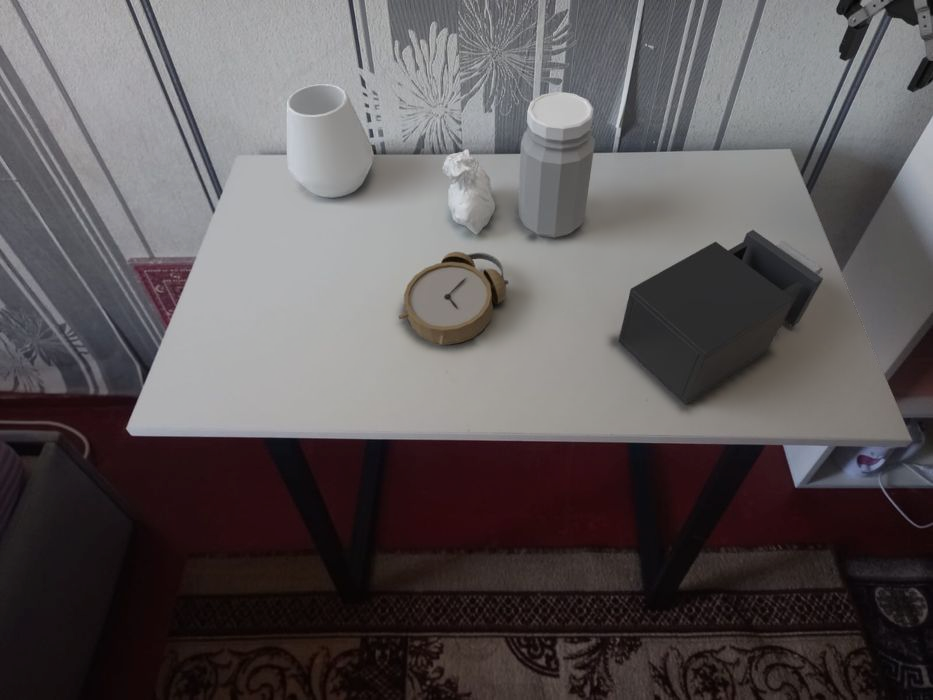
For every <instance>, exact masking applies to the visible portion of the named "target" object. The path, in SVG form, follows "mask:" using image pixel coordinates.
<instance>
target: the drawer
mask: <svg viewBox="0 0 933 700" xmlns="http://www.w3.org/2000/svg"><path fill="white" fill-rule="evenodd" d="M727 250H728V251H729V252H731V253H732V254H733V255H735V256H736V257H737V258H739V259H740V260H741V261H743V262H744V263H746V264H747V265H748V266H750V267H751V268H752V269H754V270H755V271H756V272H758V273H759V274H760V275H762V276H763V277H765V278H766V279H767V280H769V281H770V282H771V283H773V284H774V285H775V286H777V287H778V288H779V289H781V290H782V291H784V292H785V293H786V294H788V295H789V296H790V297H792V298H793V299H794V300H793V302H792V304H791V306H790V308H789V310H788V312H787V313H786V315H785V317H784V319H783V321H782V323H781V325H780V327H779V328H781V327H782V326H783V325H784V322H786V323H787V324H788V325H790V326H791V327H794V326H796V325H797V324H798V323H800V321H801V319H802V317H803V316H804V314H805V313H806V311H807V309H808V306H809V305H810V303H811V302H812V299H813V298H814V296H815V294H816V292H817V290H818V289H819V287H820V286H821V283H822V282H823V280H824V278H823V277H822V276H820V274H821V273H822V271H823V267H822V266H821V265H820V264H819V263H816V262H815V261H814V260H812V259H811V258H809V257H808V256H806V255H805V254H803V253H801V252H800V251H799V250H797V249H796V248H794V247H793V246H792V245H790V244H789V243H787V242H786V241H784V240H780V241H779V242H777V244H774V243H773V242H771V241H770V240H769V239H767V238H766V237H764V236H763V235H761V234H760V233H758V232H757V231H755V230H754V229H752V230H750V231H748V232H746V234H745V236H744V239H743V241H742V242H740V243H739V244H737V245H735V246H733V247H731V248H730V249H727Z"/></svg>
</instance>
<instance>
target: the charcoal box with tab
mask: <svg viewBox="0 0 933 700" xmlns="http://www.w3.org/2000/svg"><path fill="white" fill-rule="evenodd" d="M728 250H729V249H727V248H725V247H724V246H723V245H721V244H720V243H719V242H717V241H714V242H712V243H710V244H709V245H707V246H704V247H703V248H701V249H699V250H697V251H696V252H694V253H693V254H692V253H691V255H689V256H687V257H685V258H683V259H681V260H679V261H678V262H676V263H674V264H673V265H671V266H669V267H667V268H665V269H663V270H662V271H660V272H657V273H656V274H654V275H653V276H651V277H649V278H647V279H645V280H644V281H642V282H640V283H638V284H636V285H634V286H633V287H631V288H630V290H629V295H628V299H627V303H626V308H625V312H624V316H623V321H622V325H621V328H620V332H619V337H618V343H619V344H620V345H621V346H622V347H624V348H625V349H626V350H627V351H628V352H629V354H631V355H632V356H633V357H634V358H635V359H636V360H637V361H638V362H639V363H641V365H643V366H644V368H646V369H647V370H648V371H649V372H650V373H651V374H652V375H653V376H654V377H655V378H656V379H657V380H659V381H660V382H661V383H662V384H663V385H664V386H665V387H666V388H667V389H668V390H669V391H670V393H672V394H673V395H674V396H675V397H676V398H677V399H679V400H680V401H681V402H682V403H683V404H684V405H685V406H686V405H688V404H690V403H691V402H692V401H694V400H695V399H697V398H699V397H700V396H702V395H703V394H705V393H706V392H708V391H710V390H711V389H713V388H714V387H715V386H717V385H718V384H720V383H721V382H723V381H724V380H726V379H728V378H729V377H731V376H732V375H733V374H736V372H738V371H740V370H741V369H743V368H744V367H746V366H748V365H749V364H750V363H752V362H754V361H755V360H756V359H758V358H760V357H761V356H763V355H764V354H766V353H767V351H768V349H769V348H770V346H771V344H772V342H773V340H774V338H775V336H776V334H777V332H778V330H780V329H779V328H781V327H780V325H781V323H782V321H783V319H784V317H785V315H786V313H787V312H788V310H789V308H790V306H791V304H792V302H793V300H794V299H793V298H792V297H790V296H789V295H788V294H786V293H785V292H784V291H782V290H781V289H779V288H778V287H777V286H775V285H774V284H773V283H771V282H770V281H769V280H767V279H766V278H765V277H763V276H762V275H760V274H759V273H758V272H756V271H755V270H754V269H752V268H751V267H750V266H748V265H747V264H746V263H744V262H743V261H741V260H740V259H739V258H737V257H736V256H735V255H733V254H732V253H731V252H729V251H728Z"/></svg>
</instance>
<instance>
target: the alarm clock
mask: <svg viewBox="0 0 933 700" xmlns="http://www.w3.org/2000/svg"><path fill="white" fill-rule="evenodd" d="M478 259H479V260H484V261H485V260H486V261H489V262H491V263H493V264H494V265H495V266H496V267H497V268H498V269H499V271H500V272H499V271H497V270H495V269H493V268H487V269H483V271H480V270H479V269H478V268H477V267H476V265H475V262H474V260H478ZM508 284H509V280H508V279H505V277H504V267H503V265H502V263H501V262H500V261H499V259H498V258H496V257H495V256H493V255H492V254H488V253H484V252H474V253H469V254H467V253H464V252H460V251H454V252H449V253H446V255H445V256H444V257H443V258H442V260H441V262H440V263H435V264H433V265H430V266H428V267H425V268H424V269H422V270H421V271H419V272H418V273H417V274H415V275H414V276H413V277H412V278H411V280H410V281H409V282H408V284H407V286H406V288H405V292H404V294H403V299H404V308H405V310H406V312H403V313H401V314H399V315H398V320H401V319H405V318H407V320H408V322H409V324H410V326H411V328H412V330H413V331H414V332H415V333H416V334H417V335H418V336H419V337H420V338H422V339H424V340H426V341H429V342H431V343H432V344H433V343H434V344H439V345H440V346H443V345H452V344H461V343H463V342H466V341H468V340H470V339H471V340H472V339H473V338H475V337H476V336H478V335H479V334H480V333H481V332H483V331H484V330H485V328H486V327H487V325H488V324H489V322H490V321H491V318H492V314H493V310H494V307H493V303H494V304H495V305H498V304H500V303H501V302H503V300H504V299H505V297H506V295H507V285H508ZM492 301H493V302H492Z"/></svg>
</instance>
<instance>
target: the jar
mask: <svg viewBox="0 0 933 700" xmlns="http://www.w3.org/2000/svg"><path fill="white" fill-rule="evenodd" d="M594 111H595V108H594V106H593V105H592V104H591V102H590V101H589V99H587V98H584V97H582V96H580V95H578V94H576V93H574V92H563V91H554V92H550V93H543V94H540V95H538V96H537V97H536V98H534V99H533V100H531V101H530V103H529V105H528V108H527V111H526V124H527V127H526V130H525V131H524V133H523V136H522V138H521V142H520V154H519V155H520V156H519V158H520V159H519V160H520V161H519V183H518V184H519V185H518V212H517V213H518V216H519V218H520V221H521V222H522V223H521V224H522V225H523V226H524V227H525V228H527V229H528V230H529V231H531V232H533V233H534V234H535V235H537V236H539V237H545V238H553V239H554V238H559V237H564V236H568V235H569V234H571V233H572V232H574V231H575V230H576V229H578V228H579V227H581V225H583V224H584V219H585V215H586V209H587V202H588V195H589V187H590V181H591V175H592V174H591V173H592V165H593V157H594V151H595V145H596V144H595V143H596V140H595V138H594V137H593V135H592V128H593V127H592V123H593V120H594Z"/></svg>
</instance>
